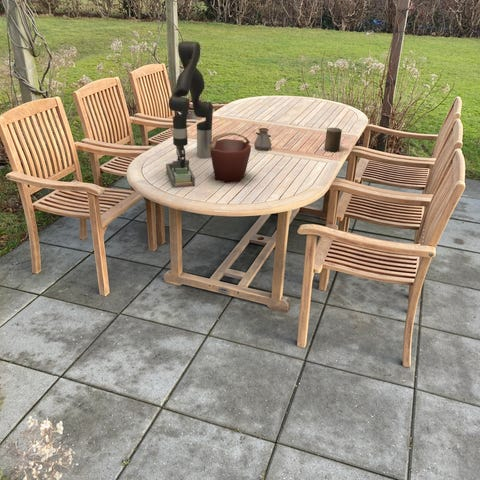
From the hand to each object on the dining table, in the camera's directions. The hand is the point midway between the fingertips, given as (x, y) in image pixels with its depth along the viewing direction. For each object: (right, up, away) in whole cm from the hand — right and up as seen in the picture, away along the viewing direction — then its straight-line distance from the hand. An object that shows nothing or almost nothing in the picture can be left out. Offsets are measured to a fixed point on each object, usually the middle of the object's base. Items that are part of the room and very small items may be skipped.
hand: (181, 165), depth 270 cm
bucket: (+25, -5, +13) cm, 29 cm away
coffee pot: (+45, +17, +53) cm, 71 cm away
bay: (-2, -6, +9) cm, 11 cm away
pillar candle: (+92, +18, +59) cm, 110 cm away
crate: (0, -8, +4) cm, 9 cm away
